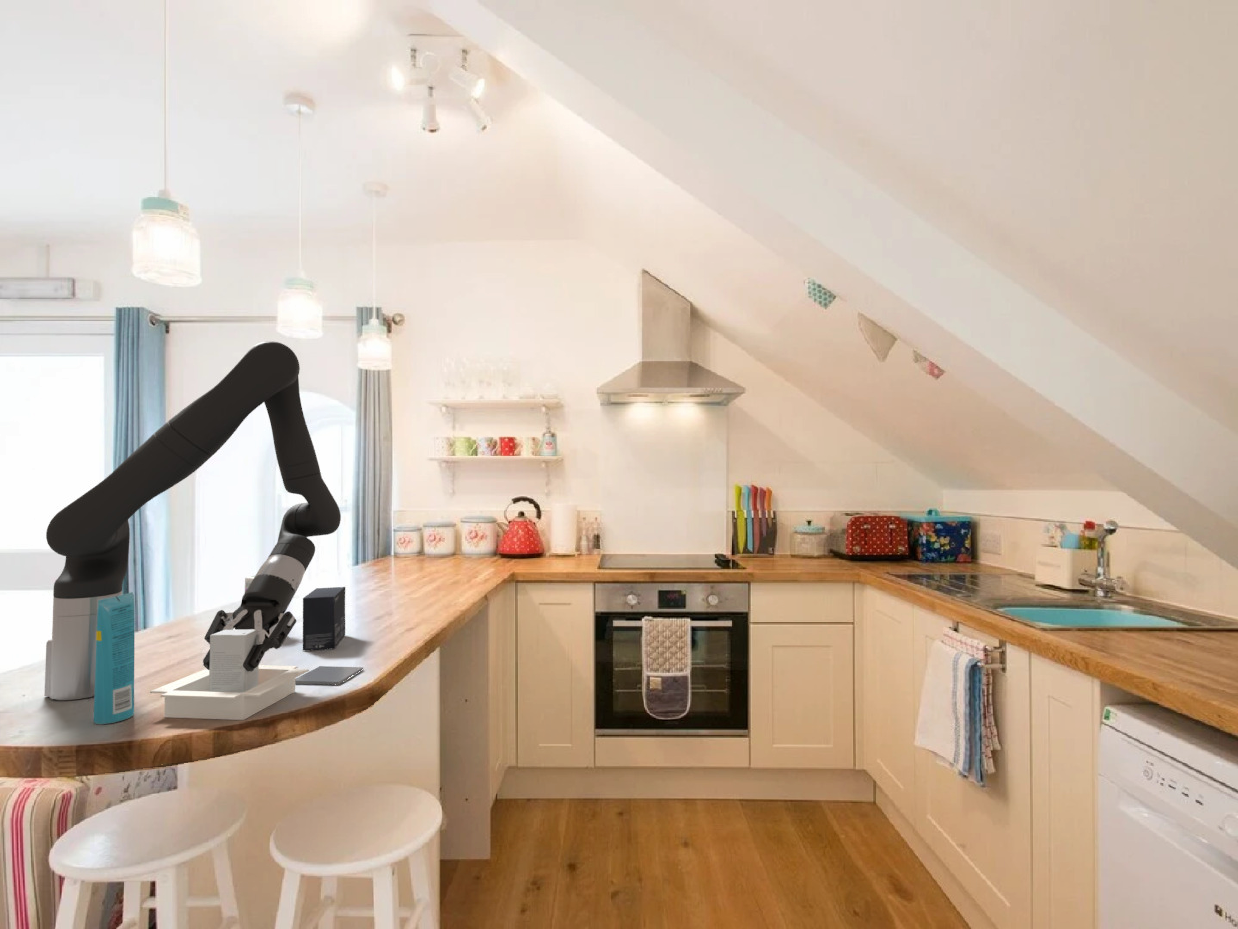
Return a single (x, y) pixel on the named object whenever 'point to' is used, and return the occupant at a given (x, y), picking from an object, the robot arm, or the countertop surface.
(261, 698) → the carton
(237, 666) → the skincare box
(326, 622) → the small box
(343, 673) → the coaster
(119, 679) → the tube
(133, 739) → the countertop surface
